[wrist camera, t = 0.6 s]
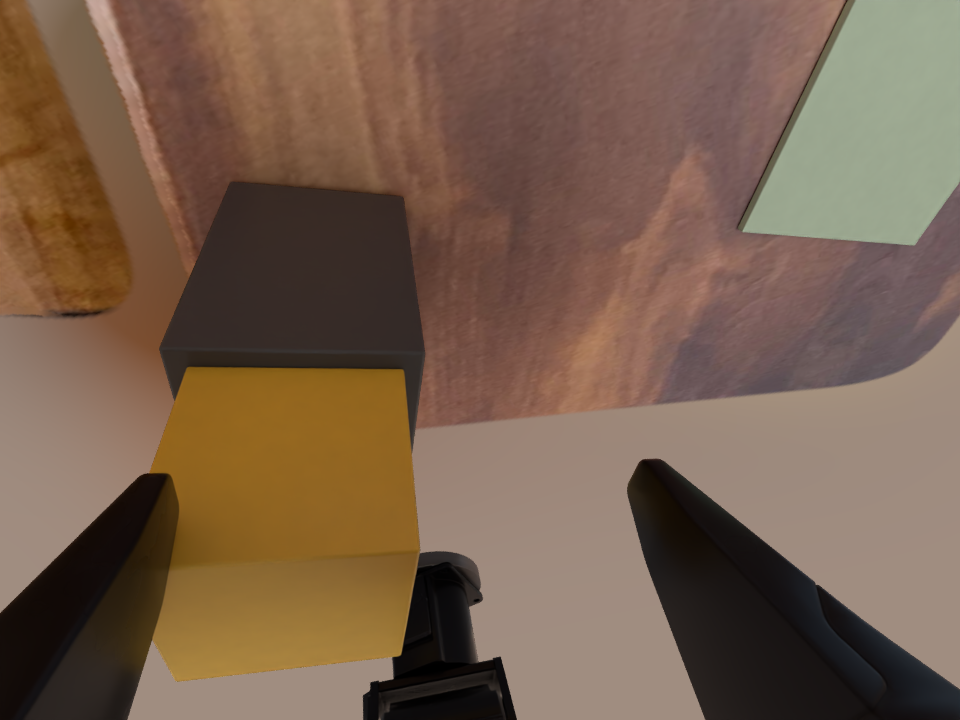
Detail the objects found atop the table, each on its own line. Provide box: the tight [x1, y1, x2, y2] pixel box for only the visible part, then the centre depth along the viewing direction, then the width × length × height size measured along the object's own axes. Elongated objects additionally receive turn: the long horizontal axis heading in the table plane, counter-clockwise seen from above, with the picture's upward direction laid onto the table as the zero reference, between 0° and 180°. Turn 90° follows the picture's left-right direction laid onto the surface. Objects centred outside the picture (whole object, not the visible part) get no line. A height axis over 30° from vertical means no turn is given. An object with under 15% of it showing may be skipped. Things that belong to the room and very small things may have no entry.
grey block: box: [159, 182, 425, 452], centre depth 18 cm, size 6×6×9 cm
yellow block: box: [150, 367, 420, 682], centre depth 13 cm, size 5×5×5 cm
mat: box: [738, 0, 960, 245], centre depth 22 cm, size 10×10×1 cm
